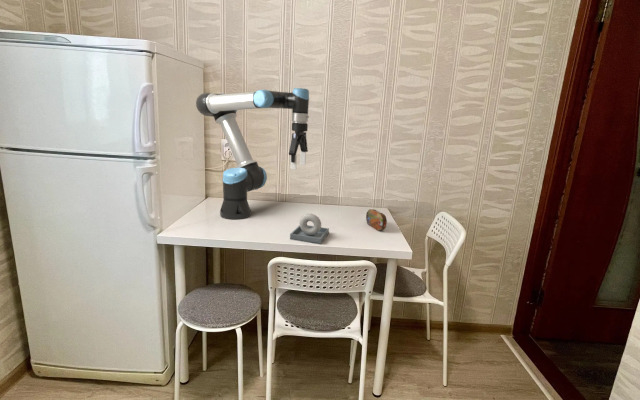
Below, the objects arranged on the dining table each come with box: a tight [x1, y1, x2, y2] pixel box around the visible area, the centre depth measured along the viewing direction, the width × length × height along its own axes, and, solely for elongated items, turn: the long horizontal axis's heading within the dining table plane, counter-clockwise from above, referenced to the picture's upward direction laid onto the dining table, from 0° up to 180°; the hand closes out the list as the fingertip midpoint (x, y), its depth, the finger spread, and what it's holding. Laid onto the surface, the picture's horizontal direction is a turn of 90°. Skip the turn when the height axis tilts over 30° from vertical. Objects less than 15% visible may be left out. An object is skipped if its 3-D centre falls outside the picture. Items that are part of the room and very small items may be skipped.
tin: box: [365, 208, 388, 232], centre depth 166 cm, size 15×3×8 cm, turn 23°
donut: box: [299, 213, 322, 235], centre depth 150 cm, size 10×4×10 cm, turn 74°
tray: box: [289, 224, 330, 245], centre depth 151 cm, size 14×14×2 cm
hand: (298, 166), depth 167 cm, fingers open, 13 cm apart
